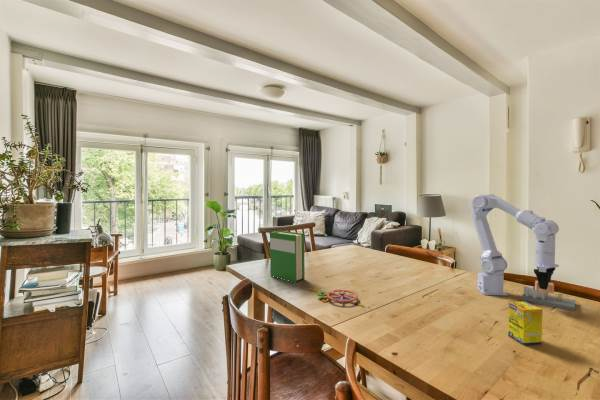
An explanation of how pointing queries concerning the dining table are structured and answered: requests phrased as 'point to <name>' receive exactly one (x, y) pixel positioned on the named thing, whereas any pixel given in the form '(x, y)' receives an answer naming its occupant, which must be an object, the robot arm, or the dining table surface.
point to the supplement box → (525, 323)
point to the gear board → (547, 299)
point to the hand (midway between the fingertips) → (544, 286)
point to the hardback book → (287, 255)
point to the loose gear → (549, 289)
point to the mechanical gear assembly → (338, 296)
